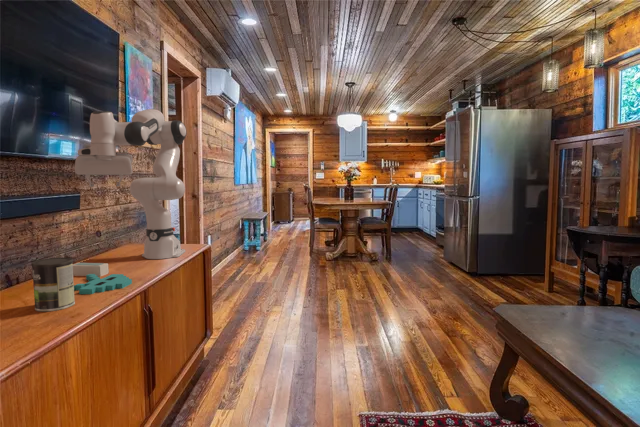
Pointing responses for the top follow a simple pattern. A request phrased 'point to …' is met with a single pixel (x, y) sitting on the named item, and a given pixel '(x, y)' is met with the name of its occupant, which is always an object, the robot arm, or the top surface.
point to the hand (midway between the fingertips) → (105, 186)
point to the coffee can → (53, 284)
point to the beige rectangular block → (90, 269)
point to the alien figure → (103, 283)
